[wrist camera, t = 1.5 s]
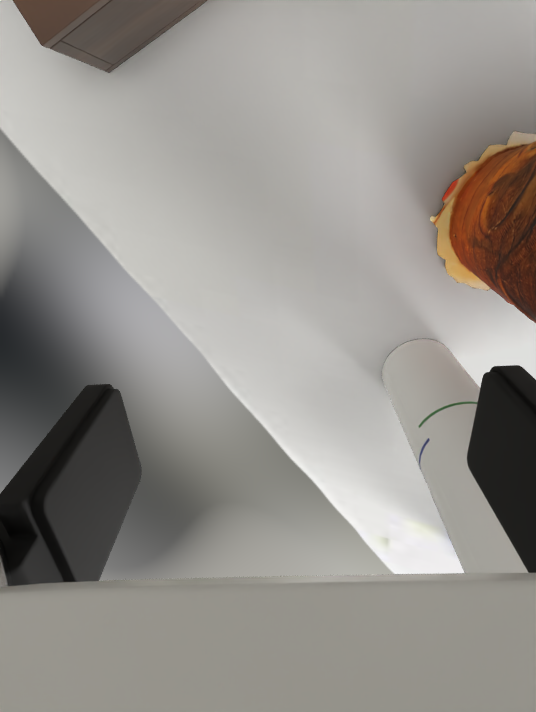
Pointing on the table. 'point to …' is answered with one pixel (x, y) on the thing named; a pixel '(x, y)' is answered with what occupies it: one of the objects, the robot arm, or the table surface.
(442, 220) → the vessel
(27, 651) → the robot arm
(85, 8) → the lid
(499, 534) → the cylindrical container
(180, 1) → the chest
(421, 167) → the table surface
